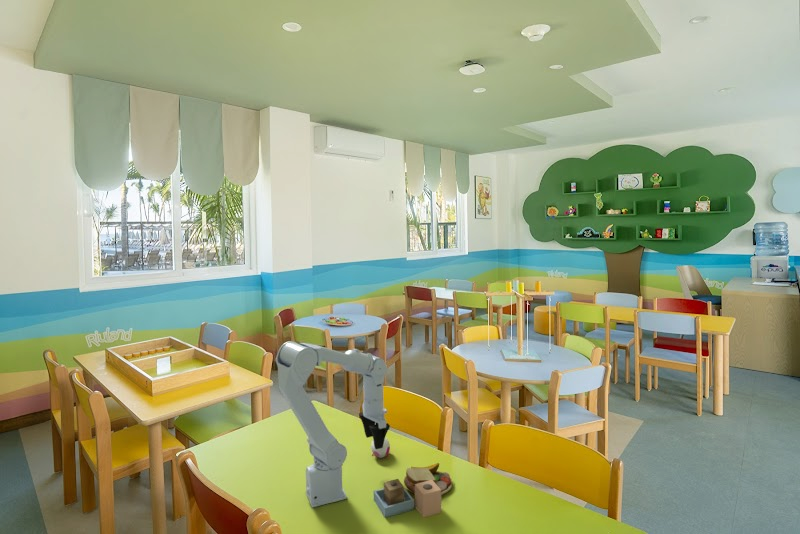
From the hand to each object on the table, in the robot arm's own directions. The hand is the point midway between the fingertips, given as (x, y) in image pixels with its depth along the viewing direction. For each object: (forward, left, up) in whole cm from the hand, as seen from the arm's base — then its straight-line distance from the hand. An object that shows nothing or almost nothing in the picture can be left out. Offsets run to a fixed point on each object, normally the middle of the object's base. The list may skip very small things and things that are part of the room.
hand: (374, 442), depth 132 cm
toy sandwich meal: (+11, -13, -10) cm, 20 cm away
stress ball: (+6, +9, -10) cm, 14 cm away
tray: (-1, -16, -9) cm, 19 cm away
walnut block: (-1, -16, -9) cm, 18 cm away
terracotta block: (+7, -22, -10) cm, 24 cm away
